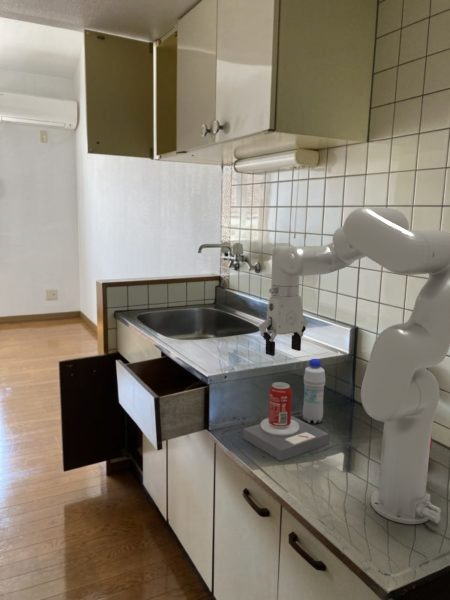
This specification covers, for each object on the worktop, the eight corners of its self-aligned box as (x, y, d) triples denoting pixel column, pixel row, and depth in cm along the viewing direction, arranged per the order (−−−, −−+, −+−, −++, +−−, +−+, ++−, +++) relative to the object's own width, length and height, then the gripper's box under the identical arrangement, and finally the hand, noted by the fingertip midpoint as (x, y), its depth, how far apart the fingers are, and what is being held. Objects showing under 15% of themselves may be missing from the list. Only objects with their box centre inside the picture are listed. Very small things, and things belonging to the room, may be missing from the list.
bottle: (317, 426, 145) (320, 363, 142) (297, 421, 149) (300, 359, 146) (326, 420, 151) (330, 358, 148) (307, 414, 155) (310, 354, 152)
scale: (328, 443, 134) (329, 430, 134) (280, 461, 124) (281, 446, 123) (289, 424, 147) (289, 411, 146) (243, 438, 137) (243, 425, 136)
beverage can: (290, 421, 139) (291, 381, 137) (290, 430, 133) (292, 389, 131) (268, 420, 140) (269, 380, 138) (268, 429, 134) (269, 388, 132)
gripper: (269, 295, 123) (268, 360, 125) (317, 290, 133) (315, 350, 135) (251, 292, 129) (250, 353, 131) (298, 288, 139) (296, 345, 141)
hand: (283, 352), depth 133 cm, fingers open, 9 cm apart
